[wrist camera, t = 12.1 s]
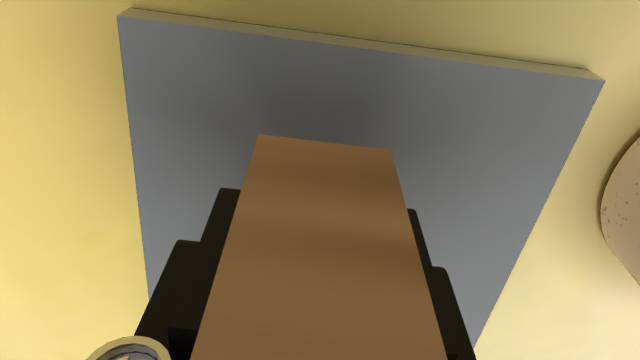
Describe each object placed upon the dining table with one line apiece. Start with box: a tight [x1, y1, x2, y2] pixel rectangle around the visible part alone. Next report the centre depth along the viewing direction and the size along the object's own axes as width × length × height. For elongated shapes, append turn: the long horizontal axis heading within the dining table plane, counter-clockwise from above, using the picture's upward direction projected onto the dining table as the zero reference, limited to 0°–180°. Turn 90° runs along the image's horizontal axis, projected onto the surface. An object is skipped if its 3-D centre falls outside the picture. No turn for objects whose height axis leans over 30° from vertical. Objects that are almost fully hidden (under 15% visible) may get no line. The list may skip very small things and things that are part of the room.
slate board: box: [117, 8, 605, 348], centre depth 18 cm, size 20×14×1 cm
